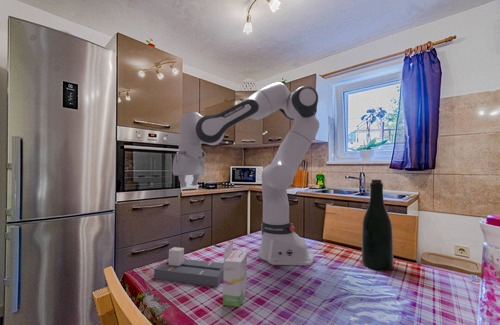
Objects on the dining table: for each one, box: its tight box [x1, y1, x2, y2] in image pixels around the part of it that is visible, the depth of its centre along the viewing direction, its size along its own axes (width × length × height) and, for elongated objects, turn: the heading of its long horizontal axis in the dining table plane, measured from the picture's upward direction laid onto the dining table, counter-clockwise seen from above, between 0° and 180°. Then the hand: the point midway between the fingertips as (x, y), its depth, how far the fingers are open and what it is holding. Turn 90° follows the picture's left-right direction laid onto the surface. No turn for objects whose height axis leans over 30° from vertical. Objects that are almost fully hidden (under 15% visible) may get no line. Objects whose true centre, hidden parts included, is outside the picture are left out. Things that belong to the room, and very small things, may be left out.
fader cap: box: [168, 246, 185, 266], centre depth 76 cm, size 4×3×6 cm
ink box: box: [222, 240, 248, 308], centre depth 62 cm, size 9×5×15 cm, turn 168°
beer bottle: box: [361, 178, 394, 272], centre depth 85 cm, size 10×10×33 cm
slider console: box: [153, 258, 224, 288], centre depth 75 cm, size 22×10×3 cm, turn 78°
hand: (189, 186), depth 89 cm, fingers open, 8 cm apart
